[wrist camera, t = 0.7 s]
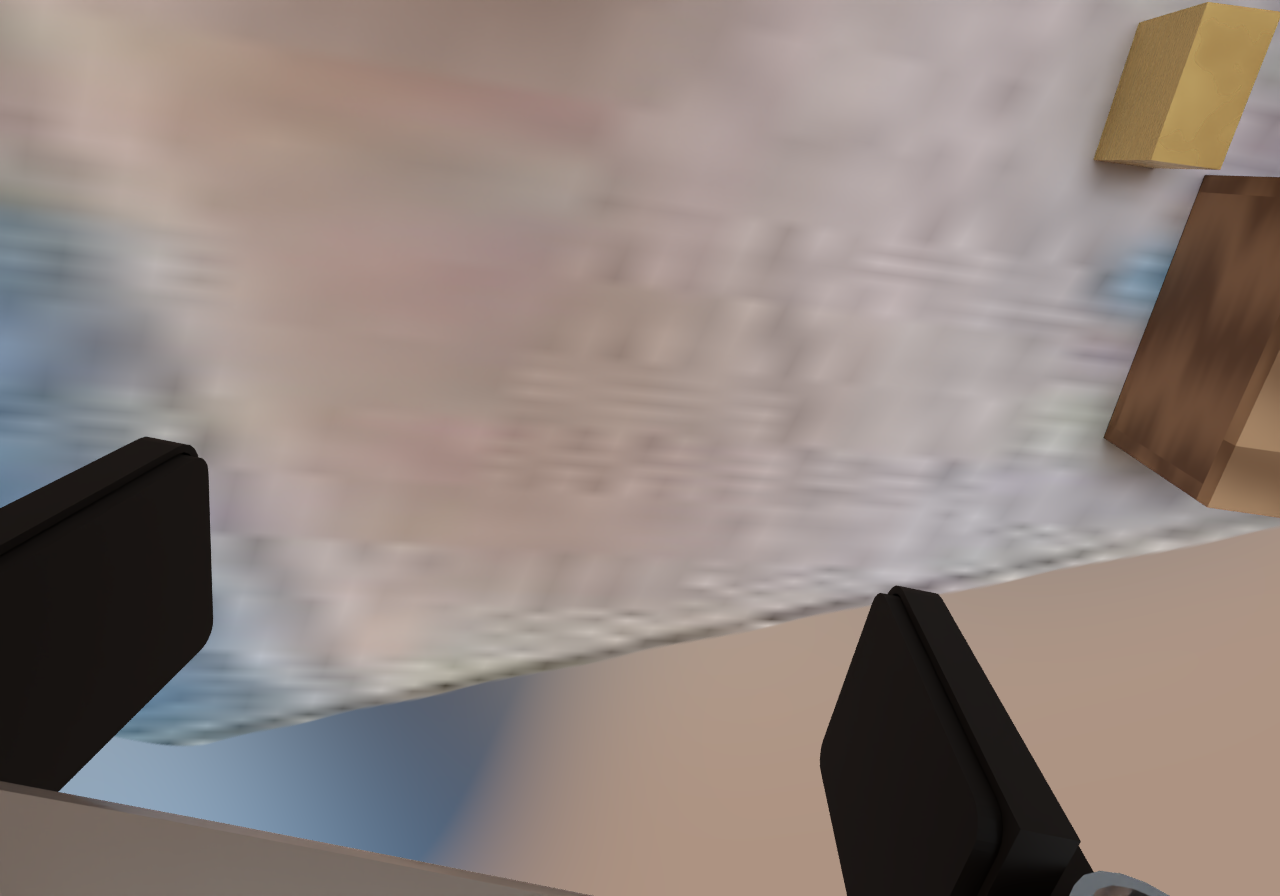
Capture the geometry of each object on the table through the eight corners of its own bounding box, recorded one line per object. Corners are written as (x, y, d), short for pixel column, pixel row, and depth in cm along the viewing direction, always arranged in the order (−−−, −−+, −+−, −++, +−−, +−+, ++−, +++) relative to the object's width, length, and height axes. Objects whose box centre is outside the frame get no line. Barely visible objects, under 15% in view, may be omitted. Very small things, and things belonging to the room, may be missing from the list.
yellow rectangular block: (1138, 22, 35) (1207, 2, 30) (1202, 31, 35) (1282, 11, 30) (1092, 159, 37) (1151, 160, 32) (1153, 168, 37) (1220, 169, 32)
